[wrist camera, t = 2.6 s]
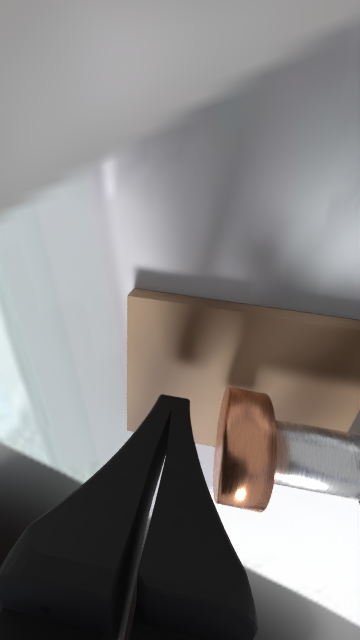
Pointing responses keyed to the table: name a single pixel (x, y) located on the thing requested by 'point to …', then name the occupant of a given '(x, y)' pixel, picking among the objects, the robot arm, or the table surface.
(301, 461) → the shaft
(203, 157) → the table surface
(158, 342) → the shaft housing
